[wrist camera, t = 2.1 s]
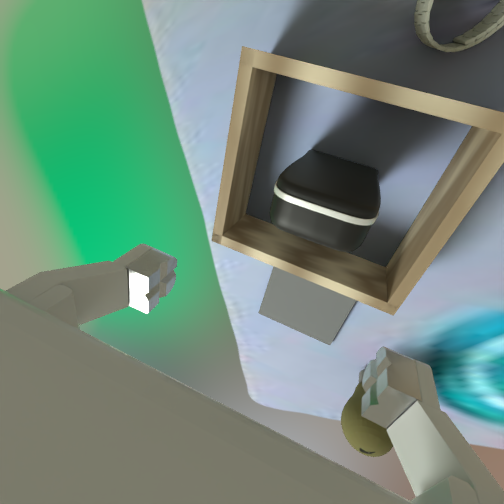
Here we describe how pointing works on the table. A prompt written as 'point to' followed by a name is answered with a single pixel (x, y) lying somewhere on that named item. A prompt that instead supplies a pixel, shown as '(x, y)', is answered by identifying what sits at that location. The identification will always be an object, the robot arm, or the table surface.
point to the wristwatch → (483, 30)
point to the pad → (305, 305)
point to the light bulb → (363, 427)
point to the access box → (321, 257)
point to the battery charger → (326, 200)
